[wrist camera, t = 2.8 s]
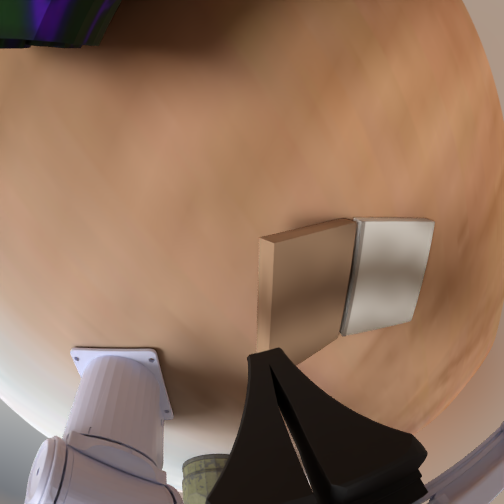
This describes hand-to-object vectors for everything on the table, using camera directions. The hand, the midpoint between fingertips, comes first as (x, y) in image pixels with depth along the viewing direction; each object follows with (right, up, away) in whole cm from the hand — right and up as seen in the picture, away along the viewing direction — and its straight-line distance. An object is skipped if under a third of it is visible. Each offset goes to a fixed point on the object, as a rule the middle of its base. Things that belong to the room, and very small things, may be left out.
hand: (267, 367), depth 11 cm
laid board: (+11, +3, +12) cm, 16 cm away
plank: (+3, +2, +8) cm, 9 cm away
